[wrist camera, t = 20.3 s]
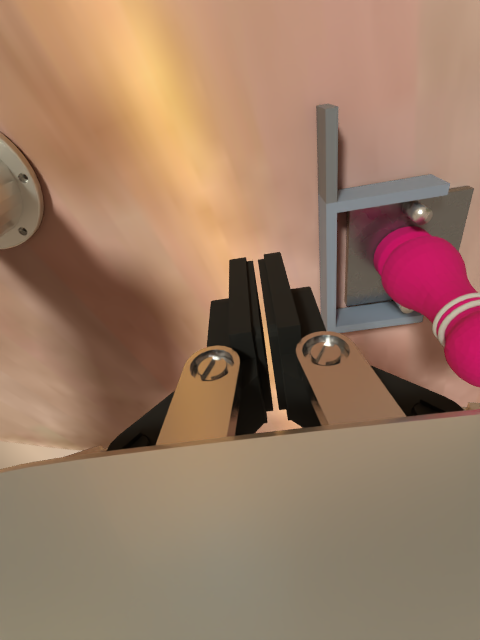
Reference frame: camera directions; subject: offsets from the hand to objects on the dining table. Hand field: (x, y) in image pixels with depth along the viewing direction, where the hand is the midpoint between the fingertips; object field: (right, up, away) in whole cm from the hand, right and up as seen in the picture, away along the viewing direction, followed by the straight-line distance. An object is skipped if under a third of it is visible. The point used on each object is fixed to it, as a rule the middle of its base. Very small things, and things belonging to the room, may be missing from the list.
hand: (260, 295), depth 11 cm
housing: (+13, +9, +24) cm, 29 cm away
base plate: (+17, +7, +26) cm, 32 cm away
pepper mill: (+17, +7, +26) cm, 32 cm away
